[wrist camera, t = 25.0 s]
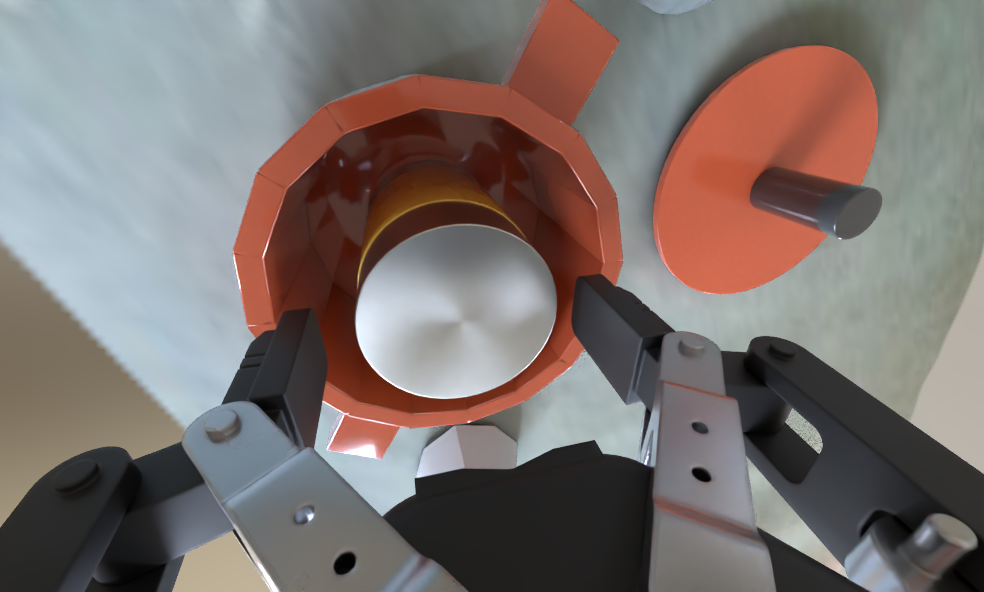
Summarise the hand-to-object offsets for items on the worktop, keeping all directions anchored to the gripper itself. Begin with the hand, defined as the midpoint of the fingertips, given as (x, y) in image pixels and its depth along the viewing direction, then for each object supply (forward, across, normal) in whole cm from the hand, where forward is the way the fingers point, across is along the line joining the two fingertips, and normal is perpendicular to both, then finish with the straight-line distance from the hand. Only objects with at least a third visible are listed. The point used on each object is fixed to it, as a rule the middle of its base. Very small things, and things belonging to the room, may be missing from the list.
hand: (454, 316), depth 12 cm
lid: (+8, -19, -1) cm, 21 cm away
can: (+8, 0, 0) cm, 8 cm away
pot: (+9, 0, 0) cm, 9 cm away
